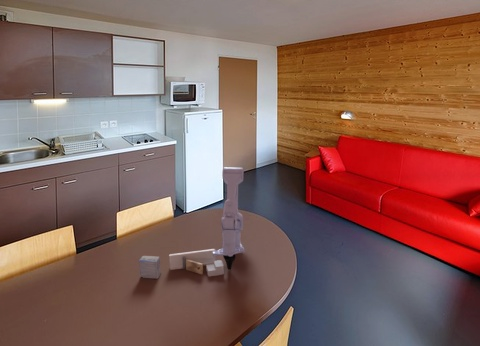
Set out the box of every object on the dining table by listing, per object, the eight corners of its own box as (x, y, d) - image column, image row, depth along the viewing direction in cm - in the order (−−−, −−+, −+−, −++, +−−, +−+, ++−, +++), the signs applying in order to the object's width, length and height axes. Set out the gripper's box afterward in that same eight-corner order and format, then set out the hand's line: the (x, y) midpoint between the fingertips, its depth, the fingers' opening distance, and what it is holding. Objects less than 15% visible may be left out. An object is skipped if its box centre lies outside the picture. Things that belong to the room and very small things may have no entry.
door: (185, 270, 140) (184, 260, 138) (187, 268, 141) (186, 259, 140) (201, 275, 136) (200, 265, 135) (202, 273, 138) (202, 263, 136)
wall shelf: (169, 267, 142) (169, 254, 140) (214, 261, 147) (214, 248, 145) (170, 271, 139) (169, 257, 137) (215, 265, 144) (215, 251, 142)
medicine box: (161, 273, 138) (160, 256, 135) (157, 279, 133) (156, 261, 131) (144, 272, 138) (142, 255, 136) (140, 278, 134) (138, 260, 132)
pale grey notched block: (206, 270, 140) (206, 261, 139) (221, 268, 142) (221, 259, 141) (208, 277, 136) (208, 268, 134) (223, 274, 138) (223, 265, 136)
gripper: (214, 248, 131) (214, 275, 135) (247, 244, 134) (246, 270, 138) (211, 240, 137) (212, 266, 141) (242, 236, 141) (242, 262, 145)
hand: (228, 268), depth 140 cm, fingers closed
